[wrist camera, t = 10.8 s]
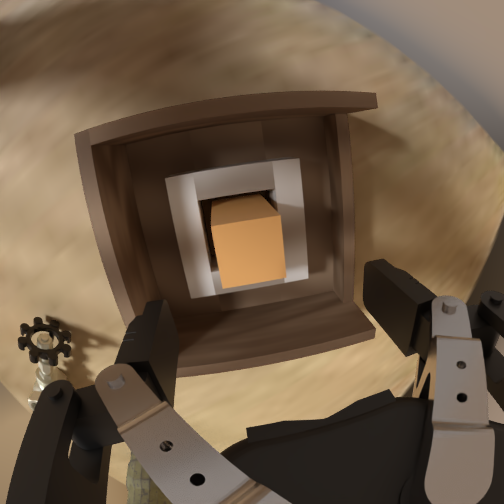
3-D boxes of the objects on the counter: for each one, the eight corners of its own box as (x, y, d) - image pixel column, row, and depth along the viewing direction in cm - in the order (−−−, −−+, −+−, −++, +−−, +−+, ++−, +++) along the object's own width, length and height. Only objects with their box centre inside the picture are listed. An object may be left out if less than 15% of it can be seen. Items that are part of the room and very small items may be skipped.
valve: (77, 393, 30) (81, 331, 26) (64, 429, 24) (59, 370, 20) (37, 374, 28) (34, 308, 25) (20, 406, 22) (6, 342, 19)
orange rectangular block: (211, 200, 23) (210, 226, 16) (259, 193, 24) (280, 215, 16) (219, 245, 25) (222, 288, 18) (265, 238, 25) (286, 277, 18)
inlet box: (116, 136, 20) (74, 134, 13) (328, 106, 22) (375, 92, 14) (162, 323, 27) (149, 379, 20) (338, 292, 28) (374, 338, 21)
